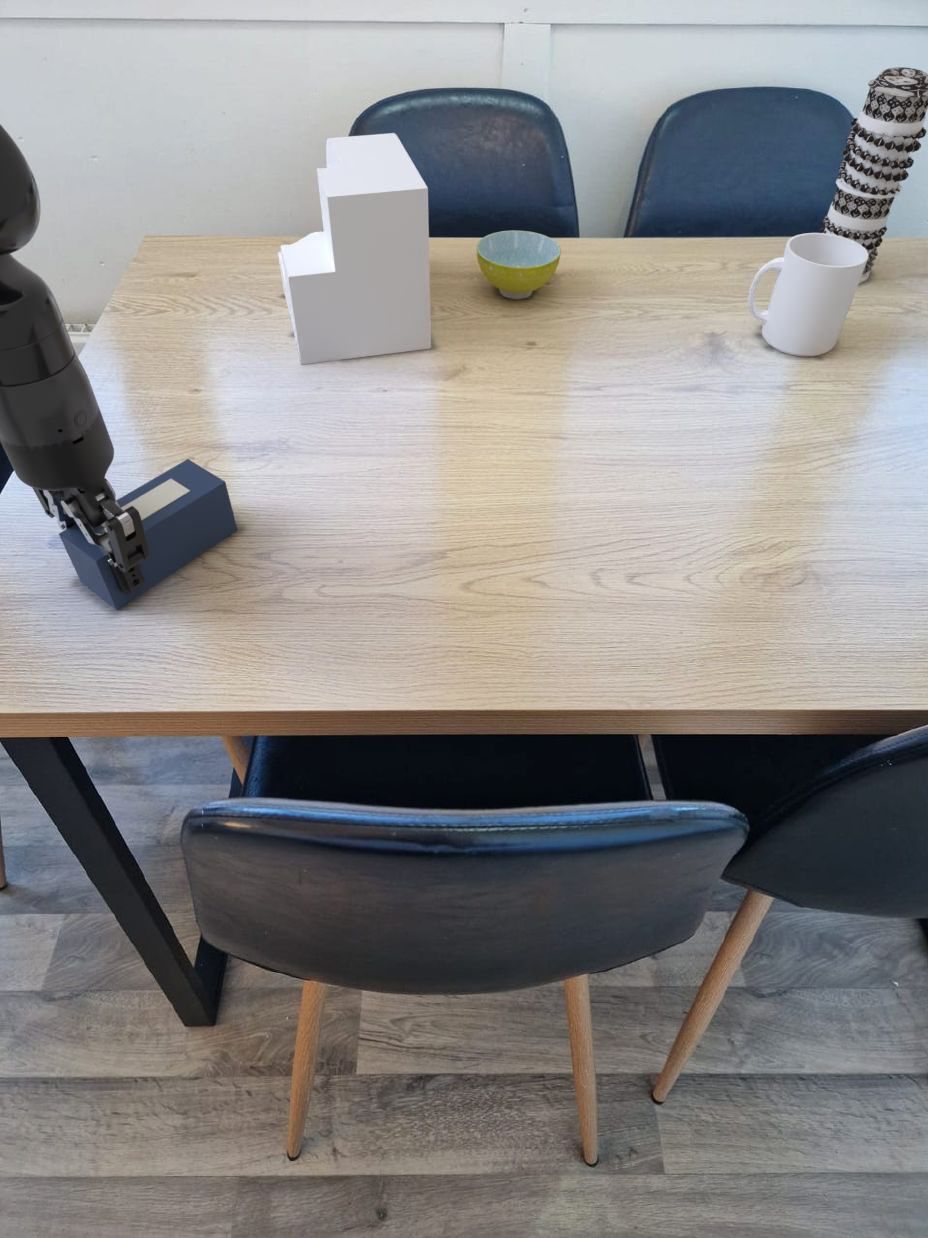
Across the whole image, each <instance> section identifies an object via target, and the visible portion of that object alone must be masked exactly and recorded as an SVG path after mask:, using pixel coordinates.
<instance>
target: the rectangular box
mask: <svg viewBox="0 0 928 1238" xmlns="http://www.w3.org/2000/svg"><path fill="white" fill-rule="evenodd" d="M116 501H117V502H118V504H119V506H120V508H121V509H122V510H125V509H127V508H129V507H131V506H133V507H134V508H136V509H137V510H138V512H139V514H140V517H141V521H142V525H143V529H144V533H145V537H146V542H147V546H148V550H149V554H150V557H148V558H147V559H145V560H143V561H141V562H140V563H138V564H139V566H140V569H141V571H142V574H143V577H144V579H145V583H144V584H143V586H141V587H140V588H138V589H137V590H135V591H134V592H132V593H131V594H129V595H125V594H124V593H122V592H121V591H120V590H119V588H118V585H117V583H116V581H115V578H114V576H113V574H112V571H111V569H110V566H109V564H108V562H107V560H106V558H105V557H104V555H103V553H102V552H101V550H100V548H99V547H98V546H96V545H92V544H90V543H89V542H88V541H87V539H86V537H85V536H84V534H83V532H82V531H81V529H80V528H79V526H78V524H77V523H76V524H75V525H73V526H71V527H70V528H68V529H66V530H64V531H63V530H62V531H60V532H59V533H58V536H59V538H60V540H61V542H62V544H63V546H64V549H65V551H66V553H67V555H68V558H69V559H70V562H71V563H72V566H73V568H74V569H75V572H76V575H77V576H78V579H79V581H80V583H81V584H82V585H84V586H85V587H86V588H88V589H89V590H90V591H92V593H94V594H95V595H97V596H98V597H99V598H101V599H102V600H103V601H104V602H106V603H107V604H108V605H110V606H111V607H112V608H113V609H115V610H116V611H118V610H120V608H122V607H124V606H126V605H127V604H128V603H130V602H131V601H133V600H134V599H136V598H138V597H139V596H140V595H142V594H143V593H145V592H146V591H148V590H150V589H151V588H153V587H154V586H155V585H157V584H158V583H160V582H161V581H164V580H165V579H166V578H168V577H169V576H170V575H173V574H174V573H175V572H177V571H178V570H179V569H181V568H183V567H184V566H186V565H187V564H189V563H190V562H191V561H194V559H197V558H198V557H199V556H201V555H202V554H204V553H205V552H207V551H208V550H210V549H212V548H213V547H214V546H216V545H217V544H219V543H221V542H222V541H224V540H225V539H227V538H228V537H230V536H231V535H233V534H234V533H235V532H237V531H238V527H237V523H236V518H235V515H234V511H233V506H232V502H231V499H230V494H229V491H228V486H227V483H226V481H225V480H224V479H222V478H220V477H219V476H217V475H216V474H213V473H212V472H210V471H208V470H207V469H205V468H204V467H202V466H200V465H199V464H197V463H196V462H194V461H192V460H190V459H189V458H187V459H185V460H183V461H181V462H180V463H178V464H176V465H175V466H173V467H171V468H170V469H168V470H166V471H164V472H163V473H161V474H159V475H157V476H156V477H154V478H153V479H151V480H149V481H147V482H146V483H145V482H144V484H141V485H140V486H139V487H136V488H135V489H133V490H132V491H130V492H128V493H127V494H125V495H123V496H121V497H120V498H118V499H116ZM104 527H106V525H105V523H103V524H101V525H100V526H98V527H95V528H92V529H93V530H94V532H95V533H97V532H99V531H101V530H102V529H104ZM108 544H109V546H110V548H111V549H112V546H111V542H110V540H109V542H108ZM112 551H113V549H112Z"/></svg>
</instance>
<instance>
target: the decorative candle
mask: <svg viewBox="0 0 928 1238" xmlns="http://www.w3.org/2000/svg"><path fill="white" fill-rule="evenodd" d="M867 85H868V87H869V89H868V93H867V95H866V99H865V102H864V106H863V107H862V109H861V110H860V113H859V115H858V118H857V117H855V118H853V119H852V120H851V121H850V125H851V130H852V131H851V132H849V133H848V137H846V141H845V142H846V143H847V144H846V146H845V148H844V149H843V150H842V155H843V161H841V163H840V166H839V167H838V172H839V173H838V176H837V177H836V180H835V184H836V185H837V188H836V192H835V195H834V198H833V201H832V202H831V204H830V206H829V209H828V212H827V214H826V215H825V217H823V219H822V222H823V226H822V227H821V228H820V230H819V233H826V234H832V235H837V236H841V237H845V238H848V239H850V240H853V241H855V242H857V243H858V244H860V245H862V246H863V247H864V248H865V249H866V250H867V252H868V260H867V262H866V265H865V268H864V270H863V273H862V276H861V279H860V281H859V284H862V283H863V282H865V281H867V280H868V279H869V276H870V272H871V271H872V267H874V266H875V263H874V261H876V257H877V256H878V255H879V252H878V247H880V246H881V244H882V243H883V238H882V237H883V236H884V235H885V234H886V232H887V230H888V228H887V223H888V219H889V216H890V215H891V211H890V210H891V208H892V206H893V202H894V200H895V197H897V196H898V195H900V194H901V191H902V188H903V187H902V185H901V182H902V181H905V180H907V179H908V178H909V175H910V174H909V172H907V169H910V168H911V167H913V164H914V163H915V160H914V159H913V158H912V156H910V154H911V153H914V152H917V151H919V150H920V149H921V148H922V144H921V143H920V142H919V140H920V139H922V138H924V137H926V134H927V131H928V130H927V129H926V128H925V127H924V123H925V121H926V118H927V117H926V114H927V112H928V73H927V72H926V71H923V70H921V69H918V68H911V67H904V66H903V67H901V66H900V67H899V66H897V67H889V68H886V69H884V70H882V71H881V72H880V73H879V75H877V76H876V78H874V79H871V80H869V82H868V84H867Z"/></svg>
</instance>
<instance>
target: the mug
mask: <svg viewBox="0 0 928 1238" xmlns="http://www.w3.org/2000/svg"><path fill="white" fill-rule="evenodd" d="M867 260H868V252H867V250H866V249H865V248H864V247H863V246H862V245H860V244H858V243H857V242H855V241H853V240H850V239H848V238H845V237H841V236H837V235H832V234H826V233H820V232H807V233H805V232H804V233H801V234H796V235H794V236H792V237H790V238H789V239H788V240H787V241H786V245H785V248H784V252H783V256H781V257H775V258H773V259H771V260H769V261H768V262H766V263H765V264H764V265H762V266H761V267H760V268H759V270H758V271H757V273H756V274H755V275H754V278H753V280H752V282H751V284H750V288H749V292H748V299H747V306H748V310H749V313H750V314H751V315H752V317H753V318H754V319H757V320H758V321H760V322H761V323H762V329H761V334H762V338H763V339H764V340H765V341H766V342H767V344H768V345H769V346H770V347H772V348H773V349H775V350H777V351H779V352H781V353H784V354H787V355H790V356H794V357H796V356H797V357H805V358H806V357H807V358H808V357H817V356H820V355H821V356H822V355H823V354H825V353H828V352H829V351H831V350H833V348H834V347H835V346H836V344H837V342H838V340H839V339H840V335H841V333H842V330H843V327H844V324H845V321H846V319H847V316H848V313H849V311H850V308H851V306H852V302H853V300H854V297H855V294H856V292H857V289H858V287H859V285H860V283H859V281H860V279H861V276H862V273H863V270H864V268H865V265H866V262H867ZM769 271H776V272H777V274H776V279H775V282H774V286H773V289H772V292H771V296H770V299H769V301H768V302H769V303H768V306H767V309H765V310H762V311H761V310H758V308H757V306H756V302H755V299H756V291H757V287H758V284H759V283H760V280H761V278H763V276H764V275H765V273H767V272H769Z"/></svg>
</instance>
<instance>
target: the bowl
mask: <svg viewBox="0 0 928 1238" xmlns="http://www.w3.org/2000/svg"><path fill="white" fill-rule="evenodd" d="M561 254H562V249H561V246H560V245H559V243H558V242H557V241H555V239H553V238H551V237H550V236H547V235H545V234H542V233H538V232H534V231H527V230H502V231H498V232H497V231H496V232H492V233H490V234H488V235H485V236H484V237H482V238H481V239H480V240H478V242H477V244H476V258H477V262H478V265H479V268H480V270H481V273H482V274H483V277H484V278H485V279H486V280H487V282H489V284H491V285H492V286H493V287H495V288H497V289H499V294H500V295H501V296H503V297H504V298H507V299H511V300H523V299H527V298H529V297H531V295H532V294H533V291H535V290H538V289H539V288H542V286H544V285H546V283H547V282H549V280H550V279H551V278H552V277H553V275H554V273H555V272H556V270H557V268H558V265H559V263H560V260H561Z"/></svg>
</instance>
